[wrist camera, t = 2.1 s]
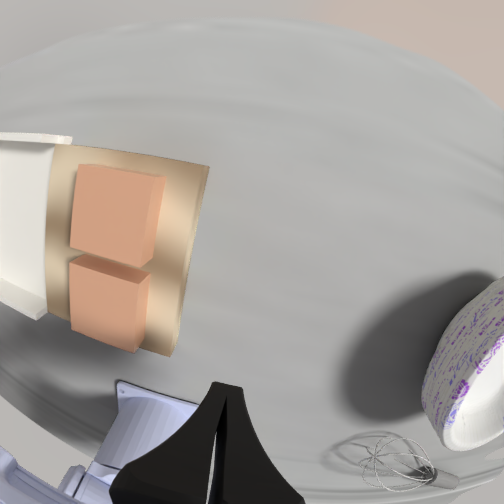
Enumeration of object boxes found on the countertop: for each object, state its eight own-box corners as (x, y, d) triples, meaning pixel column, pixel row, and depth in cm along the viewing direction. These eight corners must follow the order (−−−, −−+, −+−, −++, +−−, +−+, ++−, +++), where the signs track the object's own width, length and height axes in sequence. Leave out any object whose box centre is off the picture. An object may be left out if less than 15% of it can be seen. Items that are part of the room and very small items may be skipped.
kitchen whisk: (441, 488, 29) (450, 511, 23) (341, 446, 25) (351, 491, 18) (468, 469, 28) (480, 491, 22) (388, 414, 23) (407, 459, 17)
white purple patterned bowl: (421, 272, 19) (484, 319, 11) (532, 255, 18) (585, 281, 10) (392, 416, 23) (417, 475, 15) (498, 379, 22) (530, 418, 14)
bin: (60, 308, 21) (41, 323, 18) (-15, 271, 21) (-34, 280, 18) (72, 136, 17) (48, 134, 14) (-10, 133, 17) (-31, 132, 14)
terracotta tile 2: (152, 257, 17) (140, 267, 15) (86, 239, 17) (69, 246, 15) (166, 176, 16) (154, 176, 14) (96, 163, 16) (78, 163, 14)
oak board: (177, 342, 21) (170, 357, 19) (60, 302, 21) (47, 311, 19) (209, 166, 18) (203, 165, 16) (71, 144, 17) (55, 143, 15)
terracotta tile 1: (144, 338, 19) (134, 353, 17) (85, 317, 19) (71, 329, 17) (150, 272, 17) (138, 284, 16) (85, 253, 17) (69, 262, 15)
